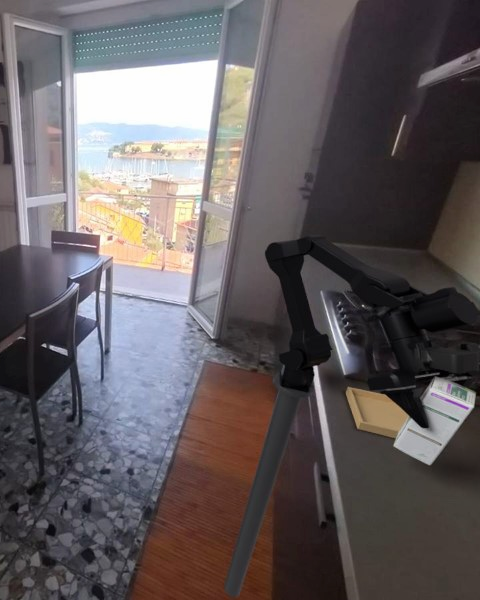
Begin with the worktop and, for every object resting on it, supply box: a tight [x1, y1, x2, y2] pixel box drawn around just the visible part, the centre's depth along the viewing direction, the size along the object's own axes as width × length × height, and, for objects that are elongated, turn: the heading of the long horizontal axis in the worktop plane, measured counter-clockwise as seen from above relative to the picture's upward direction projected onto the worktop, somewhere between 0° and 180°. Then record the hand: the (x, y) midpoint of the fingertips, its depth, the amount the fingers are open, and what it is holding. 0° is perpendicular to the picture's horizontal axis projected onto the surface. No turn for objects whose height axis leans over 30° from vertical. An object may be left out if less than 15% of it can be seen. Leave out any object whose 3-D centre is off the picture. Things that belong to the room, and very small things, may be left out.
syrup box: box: [392, 376, 477, 466], centre depth 64 cm, size 6×6×14 cm
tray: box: [345, 386, 409, 439], centre depth 81 cm, size 13×13×2 cm
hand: (443, 424), depth 63 cm, fingers closed on syrup box, 7 cm apart
